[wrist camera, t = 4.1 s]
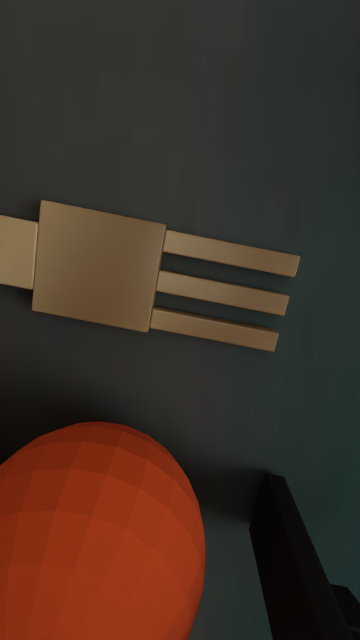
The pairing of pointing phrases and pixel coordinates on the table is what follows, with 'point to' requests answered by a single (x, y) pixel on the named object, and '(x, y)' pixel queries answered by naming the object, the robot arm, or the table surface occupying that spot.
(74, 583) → the clementine
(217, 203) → the table surface
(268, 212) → the table surface
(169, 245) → the fork
